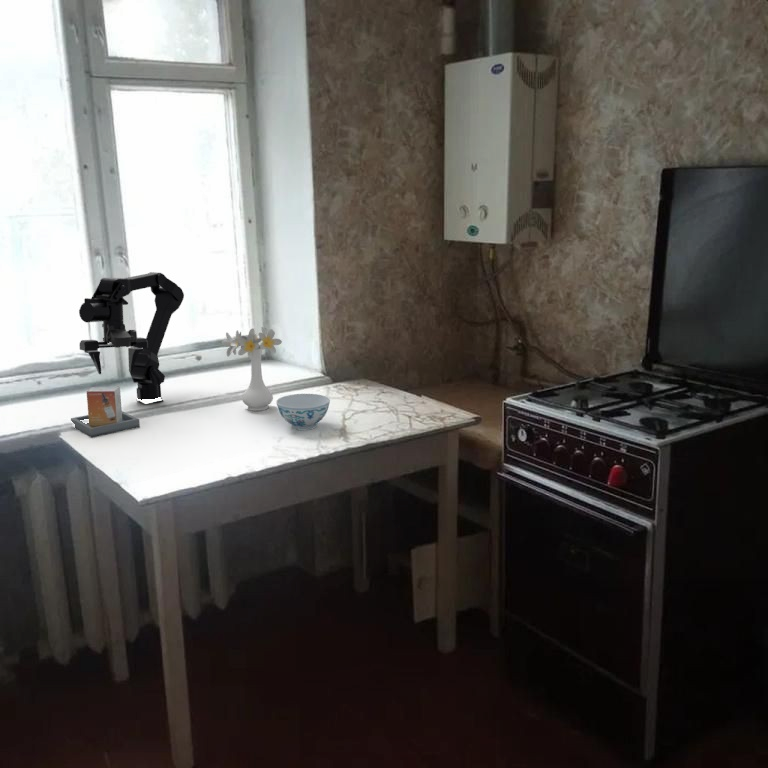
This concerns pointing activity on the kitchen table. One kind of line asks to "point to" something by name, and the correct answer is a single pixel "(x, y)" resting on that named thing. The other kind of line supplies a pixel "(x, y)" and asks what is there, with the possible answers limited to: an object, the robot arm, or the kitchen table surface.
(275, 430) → the kitchen table surface
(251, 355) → the flower vase
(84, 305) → the robot arm
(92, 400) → the small box
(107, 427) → the tray
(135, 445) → the kitchen table surface
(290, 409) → the chinaware
